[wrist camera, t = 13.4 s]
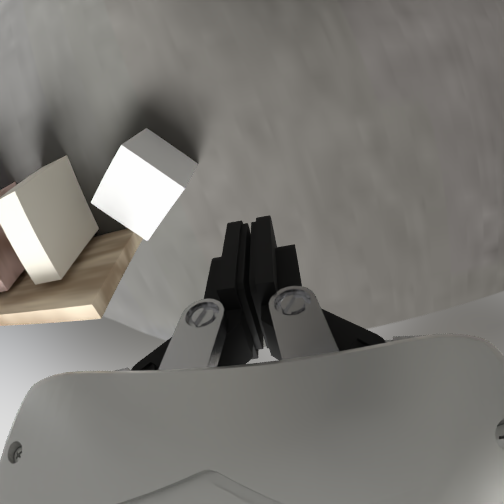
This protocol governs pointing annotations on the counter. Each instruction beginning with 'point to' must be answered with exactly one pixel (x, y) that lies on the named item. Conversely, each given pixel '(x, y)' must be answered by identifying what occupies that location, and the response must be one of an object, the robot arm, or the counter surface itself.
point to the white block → (47, 221)
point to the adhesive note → (143, 182)
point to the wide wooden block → (65, 281)
